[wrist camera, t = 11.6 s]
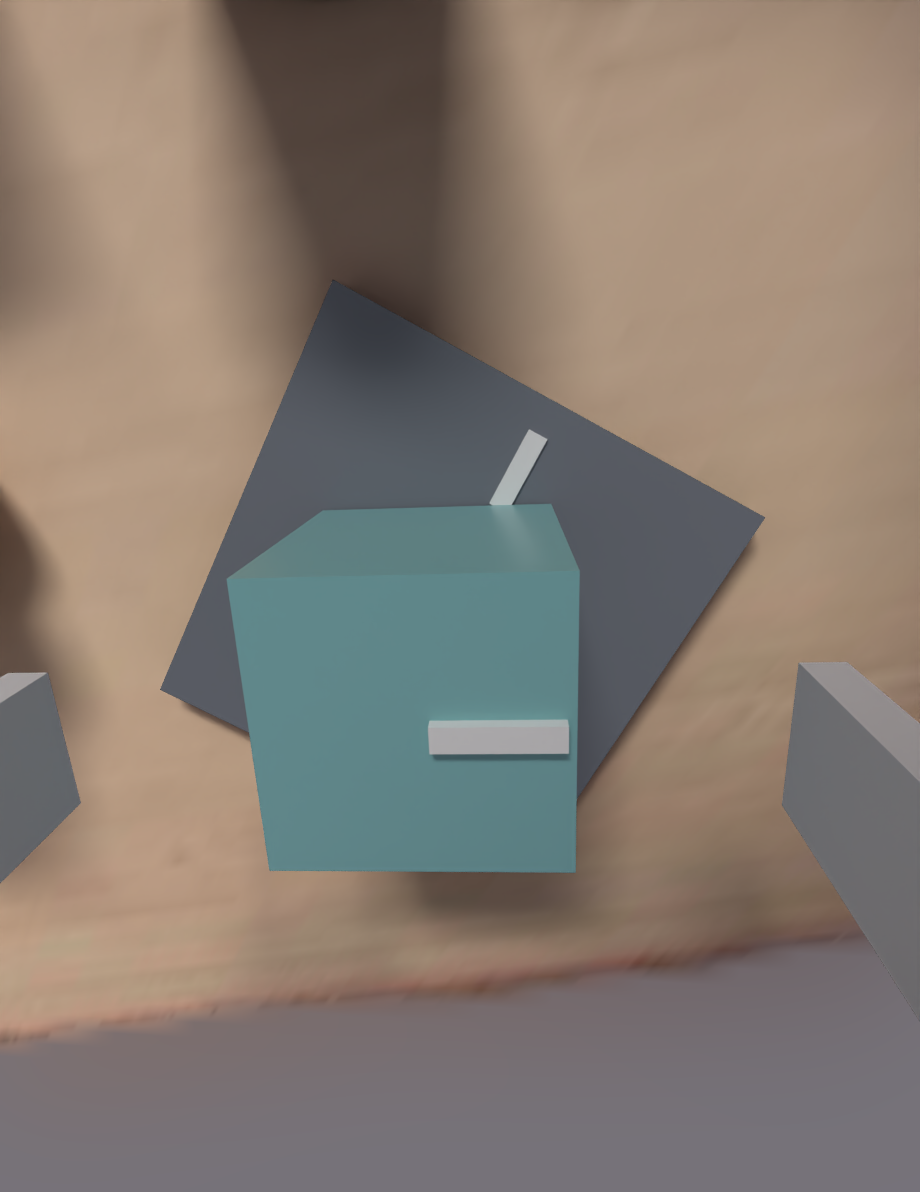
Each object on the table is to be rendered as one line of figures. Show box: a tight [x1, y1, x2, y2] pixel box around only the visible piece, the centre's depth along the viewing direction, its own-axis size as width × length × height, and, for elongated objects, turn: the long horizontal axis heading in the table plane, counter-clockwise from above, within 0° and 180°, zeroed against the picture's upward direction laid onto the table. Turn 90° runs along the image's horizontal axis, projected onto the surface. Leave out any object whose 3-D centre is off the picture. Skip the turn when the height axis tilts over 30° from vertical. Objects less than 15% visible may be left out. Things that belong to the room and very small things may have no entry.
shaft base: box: [160, 280, 765, 798], centre depth 19 cm, size 14×14×6 cm
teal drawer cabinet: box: [227, 504, 580, 873], centre depth 17 cm, size 7×7×8 cm
